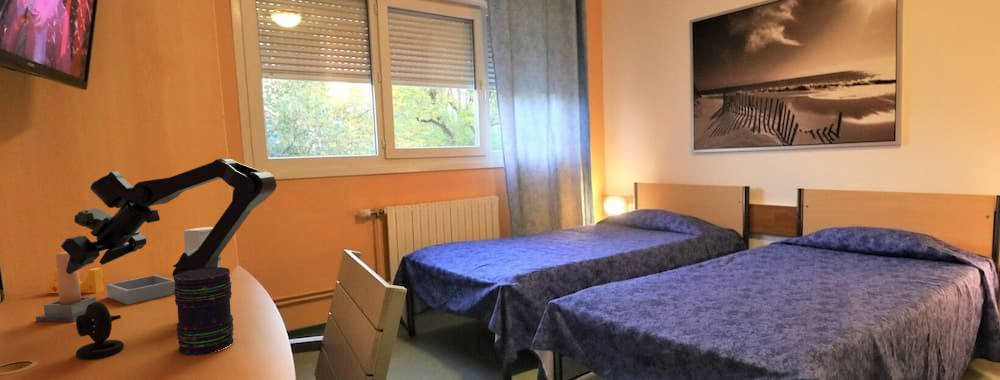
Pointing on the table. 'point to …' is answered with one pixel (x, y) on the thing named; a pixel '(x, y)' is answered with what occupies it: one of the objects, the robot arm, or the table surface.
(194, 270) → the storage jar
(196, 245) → the skincare box
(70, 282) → the tan rounded tapered piece
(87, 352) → the webcam
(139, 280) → the bin
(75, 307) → the stud base
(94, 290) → the pipe clamp
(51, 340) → the table surface
